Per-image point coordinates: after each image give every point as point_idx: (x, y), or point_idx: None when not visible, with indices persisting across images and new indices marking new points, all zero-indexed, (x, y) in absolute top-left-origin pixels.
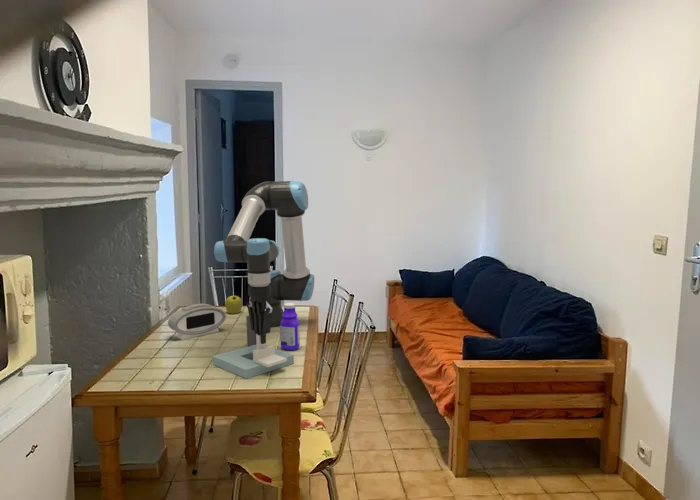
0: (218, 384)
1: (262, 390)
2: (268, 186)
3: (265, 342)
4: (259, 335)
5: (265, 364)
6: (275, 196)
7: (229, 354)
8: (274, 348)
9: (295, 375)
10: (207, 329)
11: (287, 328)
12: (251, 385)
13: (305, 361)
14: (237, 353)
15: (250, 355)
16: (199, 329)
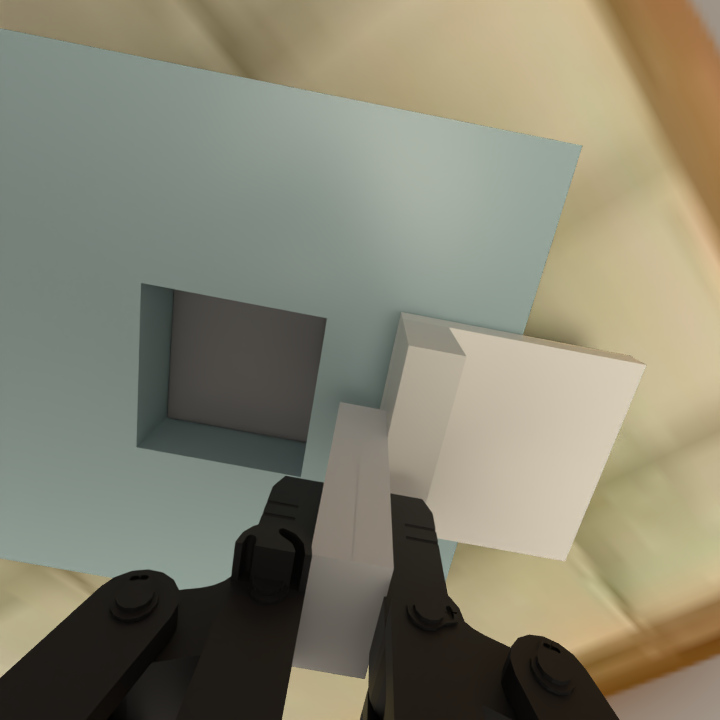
0: (346, 693)
1: (631, 652)
2: None
3: (427, 516)
4: (367, 658)
5: (531, 549)
6: None
7: (35, 464)
8: (458, 347)
9: (709, 380)
10: None
11: None
12: (524, 632)
13: (623, 26)
14: (62, 413)
15: (152, 333)
16: None
